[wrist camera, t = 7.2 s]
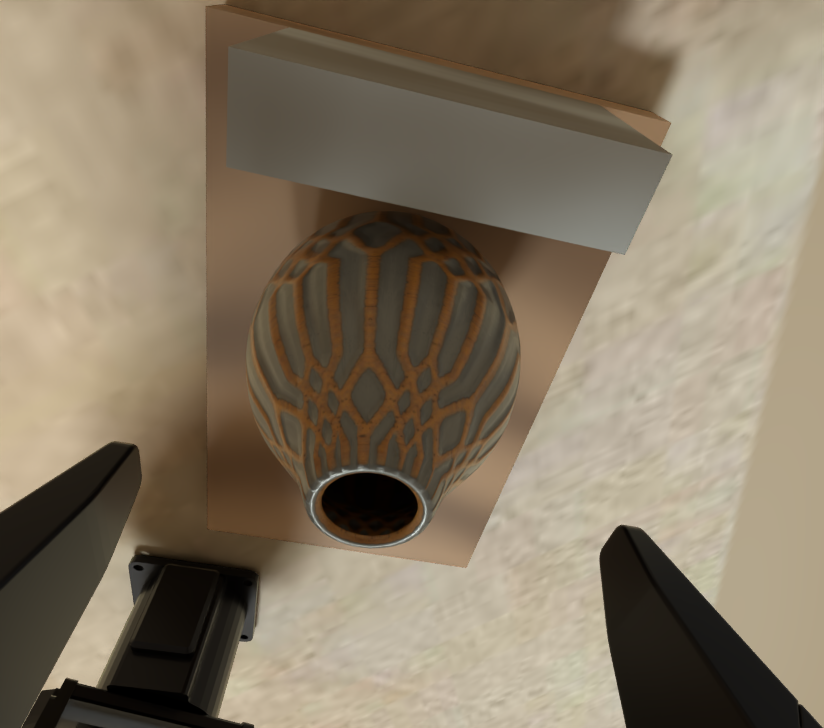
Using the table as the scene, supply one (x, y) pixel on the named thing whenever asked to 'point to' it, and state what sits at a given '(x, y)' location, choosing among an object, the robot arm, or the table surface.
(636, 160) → the wooden board with block
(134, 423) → the table surface
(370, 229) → the vase
